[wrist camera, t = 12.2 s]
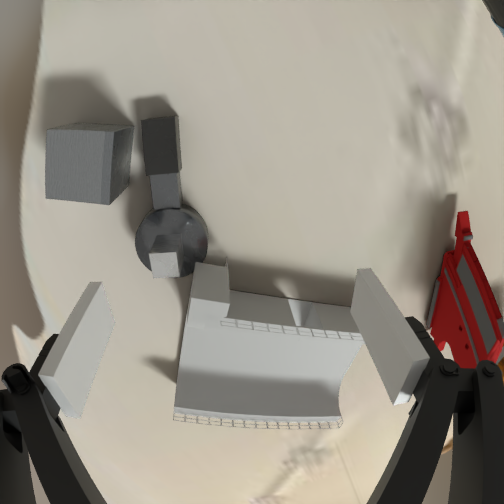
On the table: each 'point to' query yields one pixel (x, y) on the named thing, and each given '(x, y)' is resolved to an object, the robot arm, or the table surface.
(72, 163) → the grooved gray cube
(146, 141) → the ratchet
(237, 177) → the table surface
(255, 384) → the skate ramp
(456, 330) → the tool
